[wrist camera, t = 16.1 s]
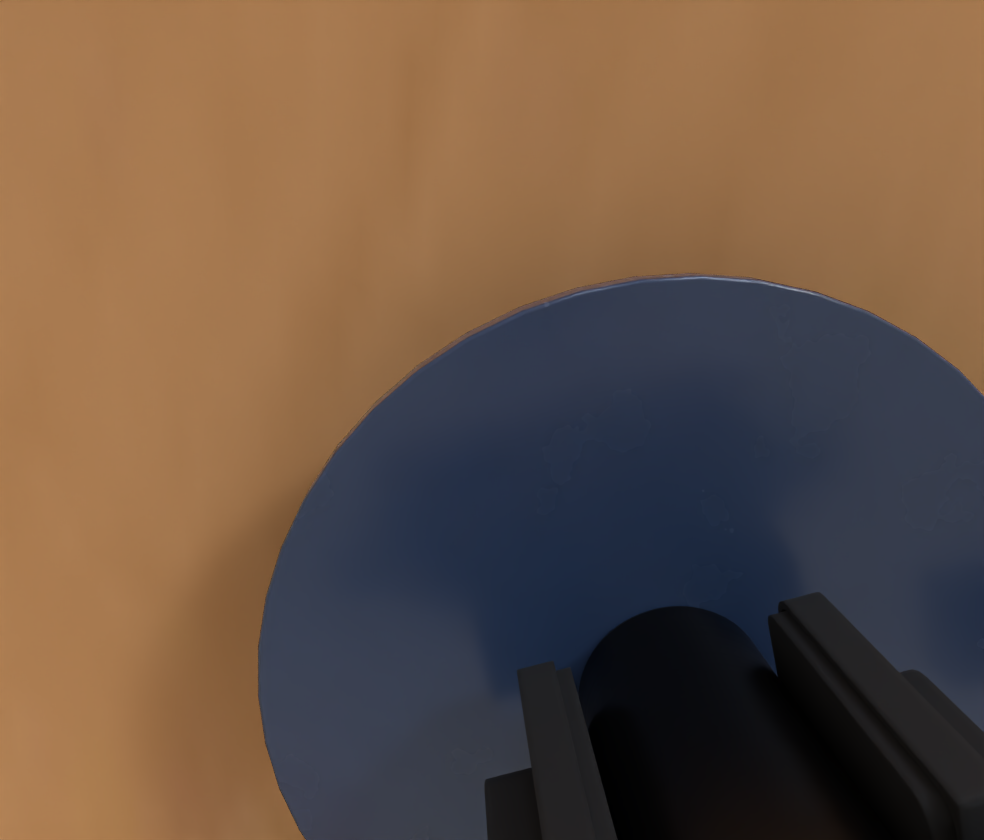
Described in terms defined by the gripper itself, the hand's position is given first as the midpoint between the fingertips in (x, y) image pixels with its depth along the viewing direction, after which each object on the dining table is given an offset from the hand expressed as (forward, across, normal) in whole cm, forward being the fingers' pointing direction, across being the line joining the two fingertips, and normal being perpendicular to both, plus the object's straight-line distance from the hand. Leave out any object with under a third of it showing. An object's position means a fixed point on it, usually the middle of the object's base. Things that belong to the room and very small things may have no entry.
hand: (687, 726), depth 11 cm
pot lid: (+1, 0, 0) cm, 1 cm away
